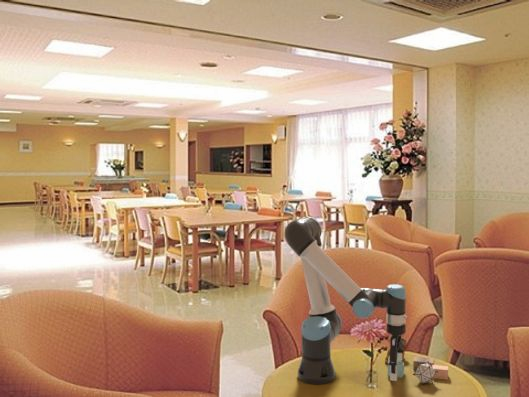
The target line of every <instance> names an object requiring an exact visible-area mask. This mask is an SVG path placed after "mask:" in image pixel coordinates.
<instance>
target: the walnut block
mask: <svg viewBox="0 0 529 397" xmlns="http://www.w3.org/2000/svg"><path fill="white" fill-rule="evenodd" d="M428 361H429V364H430V366H431V367H432V365H435V358H429V357H421V356H414V358H413V361H412V362H413V363H412V364H413V365H412V366H413V368H412V369H413V370H414V371H416V370H417V367H418V364H417V363H419V364H425V363H428Z"/></svg>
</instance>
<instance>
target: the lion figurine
mask: <svg viewBox="0 0 529 397" xmlns="http://www.w3.org/2000/svg"><path fill="white" fill-rule="evenodd" d="M407 344H408V343H407V340H406V338H405V337H402V347H403V349H402V350H404V352H403V353H402V352H401V353H402V361H405V360H406V359H405V354H406V353H405V352H406V351H407ZM385 356H386V357H385V360H384V363H385V364H386V365H387V366H388V362H389V358H390V347H389V348H388V349H387V353H386V355H385Z"/></svg>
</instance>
